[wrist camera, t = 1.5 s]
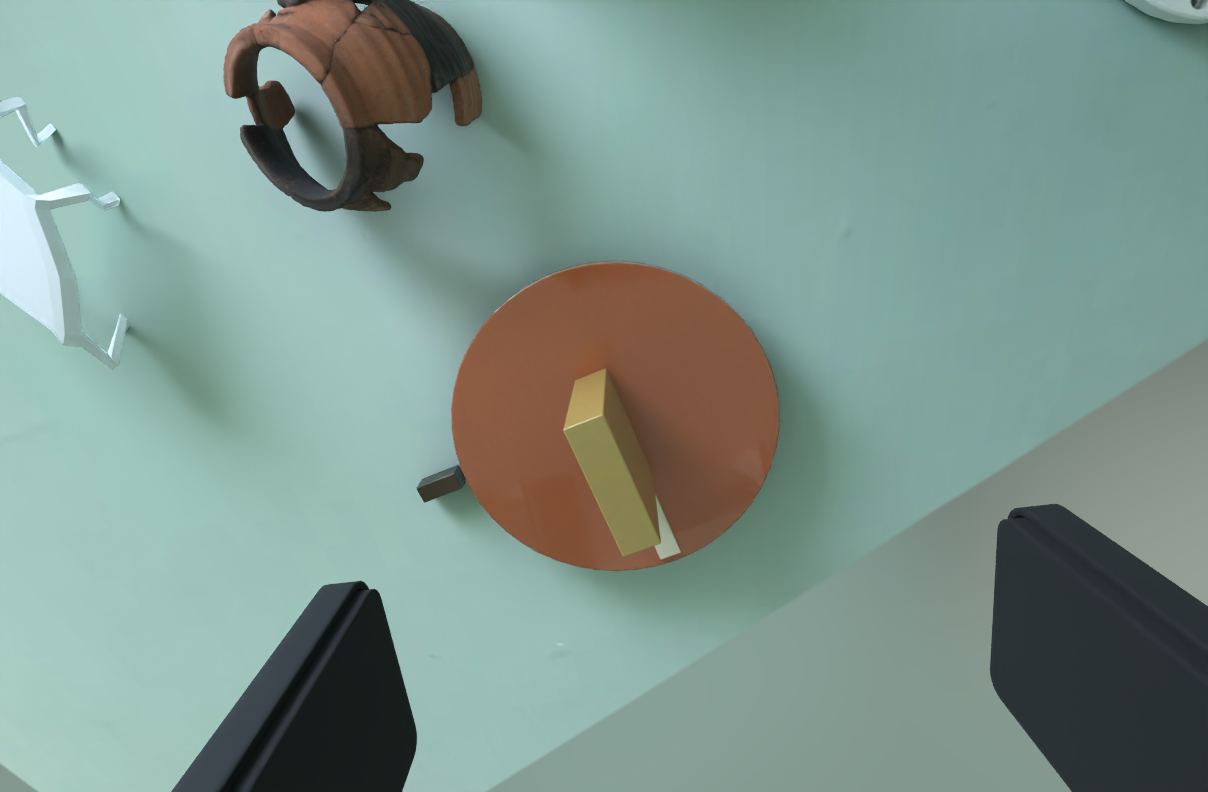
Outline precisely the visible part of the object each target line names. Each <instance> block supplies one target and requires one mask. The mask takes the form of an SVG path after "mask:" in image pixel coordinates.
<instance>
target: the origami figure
mask: <svg viewBox="0 0 1208 792" xmlns="http://www.w3.org/2000/svg"><path fill="white" fill-rule="evenodd" d="M15 110H16V112H17V114H18V116H19V118H20V120H21V122H22V124H23V126H24V128H25V130H26V132H27V134H28V136H29V138H30V140H31V142H32V143H33V144H34V145H35V146H36V147H37V148H39V147H40V146H41V145H42V144H43V143H44V142H45V141H46V139H47V138H48V137H49V136H50V135H51V134H52V133H53V132H54V131H55V130H56V129H55V128H54V127H53V126H52V125H51V124H49V125H48V126H47V127H45V128H44V129H43V130H42V131H41V132H40V133H39V134H36V132H35V129H34V126H33V123H32V121H31V118H30V115H29V113H28V110H27V107H26V104H25V103H24V102H23V100H22V99H21V98H20V97H19V96H17V97H13V98H9V99H5V100H1V101H0V118H1V117H3V116H5V115H7V114H9V113H11V112H13V111H15ZM85 201H90V202H91V203H93V204H95V205H96V206H98V207H99V208H101V209H102V210H104V211H105V210H108V209H110V208H113V207H115V206H118V205H119V203H120V198H119V197H118V196H117V195H116V194H115V193H114V192H111V193H109V194H107V195H104V196H102V197H100V198H98V199H97V198H96V197H95V196H94V195H93V194H92V193H90V192H89V191H88V190H87V189H86V188H85V187H84V186H83V185H82V184H81V183H78V184H74V185H71V186H67V187H64V188H60V189H57V190H54V191H51V192H48V193H45V194H42V195H39V194H38V193H37V192H35V191H34V190H33V189H32V188H31V187H30V186H29V185H28V184H27V183H25V182H24V181H23V180H22V179H21V178H20V177H19V176H18V175H16V174H15V173H14V172H13V171H12V170H11V169H10V168H9V167H7V166H6V165H5V164H4V163H3V162H2V161H1V160H0V294H2V295H3V296H4V297H6V298H7V299H9V300H10V301H11V302H13V303H14V304H16V305H17V306H18V307H20V308H21V309H23V310H24V311H25V312H27V313H28V314H29V315H31V316H32V317H34V318H35V319H36V320H38V321H39V322H41V323H42V324H43V325H45V326H46V327H48V328H49V329H50V330H52V331H53V332H54V334H55V335H56V336H57V338H58V339H59V341H60V342H61V343H62V345H65V346H75V347H82V348H84V349H85V350H86V351H88V352H89V353H91V354H92V355H93V356H95V357H96V358H98V359H99V360H100V361H102V362H103V363H104V364H106V365H107V366H108V367H109V368H111V369H112V370H113V369H115V368H116V367H117V366H118V365H119V362H120V357H121V351H122V346H123V340H124V335H125V332H126V331H127V330H128V328H129V327H128V320H127V319H126V318H125V317H124V316H123V315H122V314H120V317H119V320H118V323H117V326H116V329H115V332H114V335H113V338H112V342H111V345H110V348H109V351H108V353H106V352H105V351H104V350H103V349H102V348H101V347H100V346H99V345H98V344H97V343H95V342H94V341H93V340H92V339H91V338H90V337H89V336H88V335H87V334H86V333H85V332H84V331H83V330H82V325H81V316H80V307H79V299H78V290H77V282H76V277H75V274H74V271H73V269H72V266H71V263H70V260H69V258H68V255H67V252H66V249H65V247H64V244H63V242H62V239H61V237H60V234H59V232H58V229H57V227H56V224H55V222H54V219H53V217H52V215H51V212H50V209H54V208H58V207H63V206H67V205H71V204H76V203H80V202H85Z"/></svg>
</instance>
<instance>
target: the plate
mask: <svg viewBox="0 0 1208 792" xmlns="http://www.w3.org/2000/svg"><path fill="white" fill-rule="evenodd" d="M451 413H452V433H453V440H454V446H455V450H456V454H457V457H458V460H459V464H460V467H461V469H462V471H463V474H464V476H465V478H466V480H467V483H468V485H469V486H470V488H471V490H472V491H473V493H474V495H475V496H476V498H477V499H478V501H479V503H480V504H481V505H482V506H483V507H484V509H485V510H486V511H487V512H488V514H489V515H490V516H491V517H492V518H493V519H494V520H495V521H496V522H497V523H498V524H499V525H500V526H501V527H502V528H503V529H504V530H505V531H506V532H508V533H509V534H510V535H512V536H513V537H514V538H516V539H517V540H518V541H520V542H521V543H523V544H524V545H526V546H528V547H530V548H531V549H533V550H535V551H537V552H538V553H541V554H543V555H545V556H548V557H550V558H552V559H555V560H557V561H560V562H564V563H567V564H570V565H574V566H578V567H584V568H589V569H595V570H610V571H621V570H636V569H642V568H648V567H654V566H658V565H661V564H665V563H668V562H672V561H675V560H677V559H679V558H682V557H684V556H687V555H689V554H691V553H693V552H695V551H697V550H698V549H700V548H702V547H704V546H706V545H707V544H709V543H710V542H712V541H713V540H714V539H716V538H717V537H719V536H720V535H721V534H723V533H724V532H725V531H726V530H727V529H728V528H729V527H730V526H732V525H733V524H734V523H735V522H736V521H737V520H738V519H739V518H740V517H741V515H742V514H743V513H744V512H745V510H746V509H747V508H748V507H749V506H750V504H751V503H752V502H753V500H754V498H755V497H756V495H757V494H758V492H759V490H760V489H761V487H762V485H763V483H764V481H765V479H766V476H767V474H768V472H769V470H770V468H771V464H772V461H773V457H774V454H775V451H776V446H777V440H778V433H779V401H778V394H777V387H776V383H775V380H774V376H773V373H772V369H771V366H770V364H769V362H768V359H767V357H766V355H765V353H764V350H763V348H762V346H761V345H760V343H759V342H758V340H757V338H756V337H755V335H754V334H753V332H752V330H751V329H750V328H749V327H748V325H747V324H746V323H745V322H744V321H743V319H742V318H741V317H740V316H739V315H738V314H737V312H736V311H735V310H734V309H732V308H731V307H730V306H729V305H728V304H727V303H726V302H725V301H724V300H722V299H721V298H720V297H719V296H718V295H716V294H715V293H713V292H712V291H710V290H709V289H707V288H706V287H704V286H703V285H702V284H700V283H698V282H696V281H694V280H692V279H690V278H688V277H686V276H684V275H682V274H679V273H676V272H673V271H671V270H668V269H665V268H662V267H658V266H653V265H648V264H643V263H638V262H624V261H606V262H592V263H587V264H582V265H577V266H572V267H568V268H565V269H562V270H560V271H557V272H554V273H551V274H548V275H546V276H544V277H542V278H540V279H538V280H536V281H534V282H533V283H531V284H529V285H527V286H526V287H524V288H523V289H521V290H520V291H518V292H517V293H516V294H514V295H513V296H511V297H510V298H509V299H508V300H507V301H506V302H505V303H503V304H502V305H501V306H500V307H499V308H498V309H497V310H496V311H495V312H494V313H493V314H492V315H491V316H490V317H489V319H488V320H487V321H486V322H485V323H484V325H483V326H482V327H481V328H480V330H479V331H478V332H477V334H476V336H475V337H474V339H473V341H472V342H471V344H470V346H469V347H468V349H467V351H466V354H465V356H464V358H463V361H462V363H461V365H460V368H459V371H458V375H457V378H456V382H455V386H454V391H453V400H452V408H451Z"/></svg>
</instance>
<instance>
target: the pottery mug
mask: <svg viewBox="0 0 1208 792" xmlns="http://www.w3.org/2000/svg"><path fill="white" fill-rule="evenodd" d="M277 2H278V4H279V5H280V6H281V7H283V8H285V9H283V10H280V11H279V12H278V15H277V16H276V14H275V13H274V12H273V11H272V10H268V11H267V12H266V13H265V14H264V15H263V16H262V18H261V19H260V20H259V22H258V23H257V24H256V23H255V24H252V25H251V26H247V27H246V28H243V29H242V30H240V32H239V33H238V34H236V35H235V37H233V39H232V40H231V42H230V44H229V45H228V48H227V53H226V56H225V62H224V86H225V91H226V94H227V95H228V96H230V97H232V98H235V99H237V98H241V97H244V96H246V98H247V102H248V106H249V109H250V112H251V114H252V116H253V119H254V121H255V123H256V125H243V126H242V127H241V128H240V138H241V140H242V143H243V145H244V146H245V148H246V149H247V151H248V153H249V154H250V156H251V158H252V159H253V161H254V162H255V163H256V164H257V165H258V167H259V168H260V170H261V171H262V172H263V174H264V175H265V176H266V177H267V178H268V179H269V180H270V181H271V182H272V183H273V184H274V185H275V186H276V187H277V188H278V189H280V190H281V191H282V192H284V193H285V194H286V195H288V196H291V197H292V199H294V200H295V201H296V202H298V203H300V204H302V205H303V206H306V207H309V208H312V209H315V210H318V211H334V210H336V209H340V208H343V209H348V210H358V211H374V212H376V211H385V210H390V209H391V205H390V203H389V202H387V201H383V200H381V199H379V198H378V197H377V196H376V195H375V194H374V193H373V192H385V191H390V190H393V189H395V188H397V187H398V186H399V185H400V184H402V183H403V182H408V181H412V180H414V179H415V178H416V177H417V176H418V174H419V172H420V170H421V168H422V166H423V162H424V158H423V156H422V155H420V154H417V153H405V152H404V150H403V149H402V148H401V147H399V146H398V145H396V144H395V143H394V142H392V141H391V140H390V139H389V138H388V137H387V136H386V135H385V133H384V132H382V130H381V129H380V128H379V127H378V124H393V123H420V122H422V121H423V119H424V118H426V117H427V116H428V115H429V113H430V111H431V109H432V97H431V94H432V93H436V92H438V91H439V90H440V89H442V88H443V87H444V86H445V85H447V84H448V83H449V84H450V88H451V92H452V96H453V102H454V113H455V122H456V124H457V125H458V126H467V125H469V124H470V123H471V122H472V121H473V120H475V119H476V118H478V117H479V116H480V115H481V112H482V97H481V90H480V84H479V80H478V76H477V73H476V70H475V68H474V63H473V60H472V58H471V56H470V54H469V52H468V50H467V48H466V46H465V44H464V42H463V41H462V39H461V38H460V37H459V36H458V34H457V33H456V32H455V30H454V29H453V28H452V27H451V25H450V24H448V23H447V21H445V20H444V19H443V18H442V17H441V16H439V15H437V14H436V13H434V12H432V11H431V10H429V9H427V8H425V7H422V6H420V5H418V4H416V3H414V2H412V1H410V0H277ZM355 3H359V4H365V5H368V6H367V7H366V8H364V10H363V11H360V10H359V9H358V8H357V6H356V5H355ZM265 47H274V48H276V49H279V50H282V51H283V52H285V53H287V54H288V55H290V56H292V57H293V58H294V59H296V60H297V61H298V62H299V63H300V64H301V65H303V66H304V67H305V68H306V69H307V70H308V71H309V73H310V74H311V75H312V76H313V77H314V78H315V79H316V80H317V81H318V82H319V83H320V84H321V86H322V89H323V91H324V92H325V94H326V95H327V97H328V98H329V100H330V102H331V104H332V107H333V108H334V111H335V113H336V115H337V117H338V120H339V123H340V125H341V127H342V128H343V131H344V141H345V147H346V156H347V158H346V168H345V172H344V176H343V179H342V181H341V183H340V185H339V186H338V187H337V188H336V189H334V190H327V189H326V188H325V187H323V186H322V185H321V184H319V183H318V182H317V181H315V180H314V179H313V178H312V177H311V176H310V175H309V174H308V173H307V172H306V171H305V170H304V169H303V168H302V167H301V166H300V165H299V163H298V161H297V160H296V158H295V156H294V154H293V152H292V150H291V147H290V145H289V143H288V141H287V138H286V135H285V133H284V131H283V128H284V126H285V125H287V124H288V123H289V121H290V119H291V118H292V117H293V116H294V114H295V110H294V106H293V104H292V102H291V100H290V97H289V95H288V94H287V92H286V91H285V89H284V87H283V86H282V85H281V83H280V82H278V81H267V82H266V83H265V85H263V86H262V87H259V86H258V81H257V61H258V55H259V52H260V51H261V50H262V49H263V48H265Z"/></svg>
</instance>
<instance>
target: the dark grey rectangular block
mask: <svg viewBox="0 0 1208 792" xmlns="http://www.w3.org/2000/svg"><path fill="white" fill-rule="evenodd" d="M465 480H466V478H465V476H464V474H463V472H462V470H461V469H460V467H459V465H457V466H455V467H452V468H450V469H447V470H444V471H442V472H439V473H437V474H434V475H432V476H429V477H427V478H424V479H422V480H421V482H420V483H419V485H418V486H417V490H418V492H419V494H420V496H421V498H422V499H423V501H424V502H427V501H430V500H432V499H435V498H438V497H440V496H443V495H445V494H448V493H450V492H453V491H456V490H458V489H461V488H462V486H463V484H464V482H465Z"/></svg>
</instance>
